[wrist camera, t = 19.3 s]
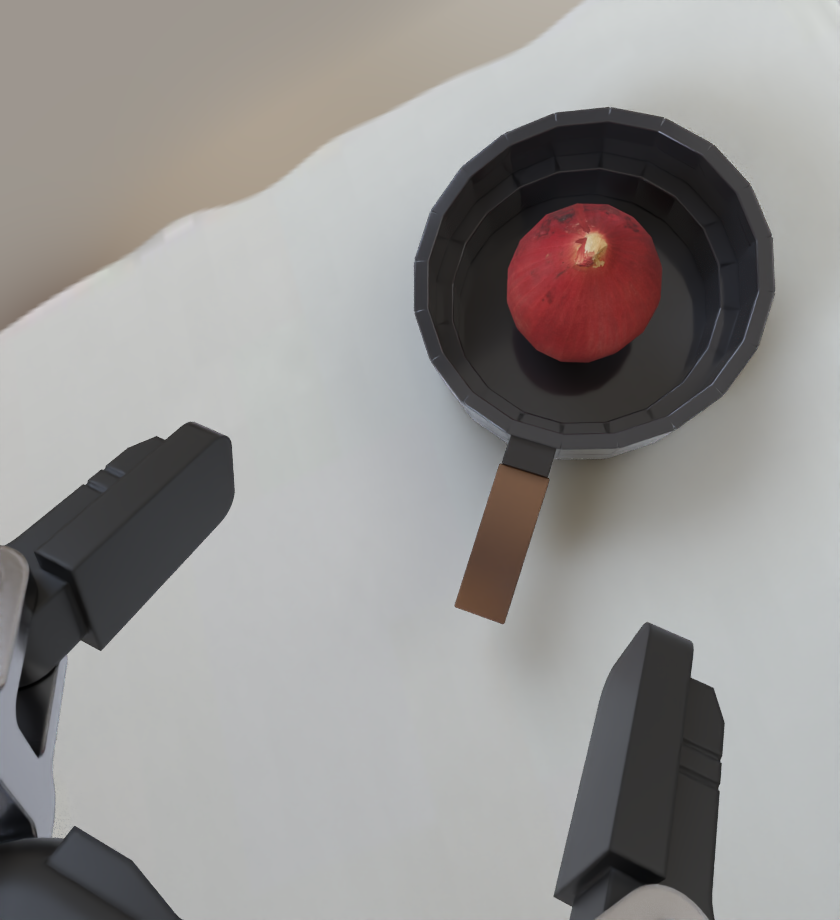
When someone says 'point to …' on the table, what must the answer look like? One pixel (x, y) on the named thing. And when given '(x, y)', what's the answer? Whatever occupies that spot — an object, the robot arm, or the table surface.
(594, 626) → the table surface
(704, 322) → the pan
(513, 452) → the pan handle
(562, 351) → the onion
